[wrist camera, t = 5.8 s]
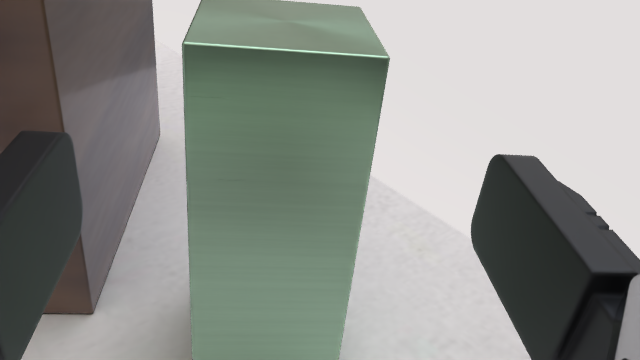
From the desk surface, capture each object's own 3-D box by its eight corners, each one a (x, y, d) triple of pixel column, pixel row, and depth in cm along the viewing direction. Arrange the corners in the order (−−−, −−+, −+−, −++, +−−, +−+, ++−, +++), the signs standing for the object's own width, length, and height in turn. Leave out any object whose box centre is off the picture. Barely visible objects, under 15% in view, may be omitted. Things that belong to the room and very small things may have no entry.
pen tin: (321, 294, 21) (360, 6, 15) (333, 390, 17) (390, 57, 12) (206, 292, 20) (203, -7, 15) (192, 391, 17) (181, 42, 11)
